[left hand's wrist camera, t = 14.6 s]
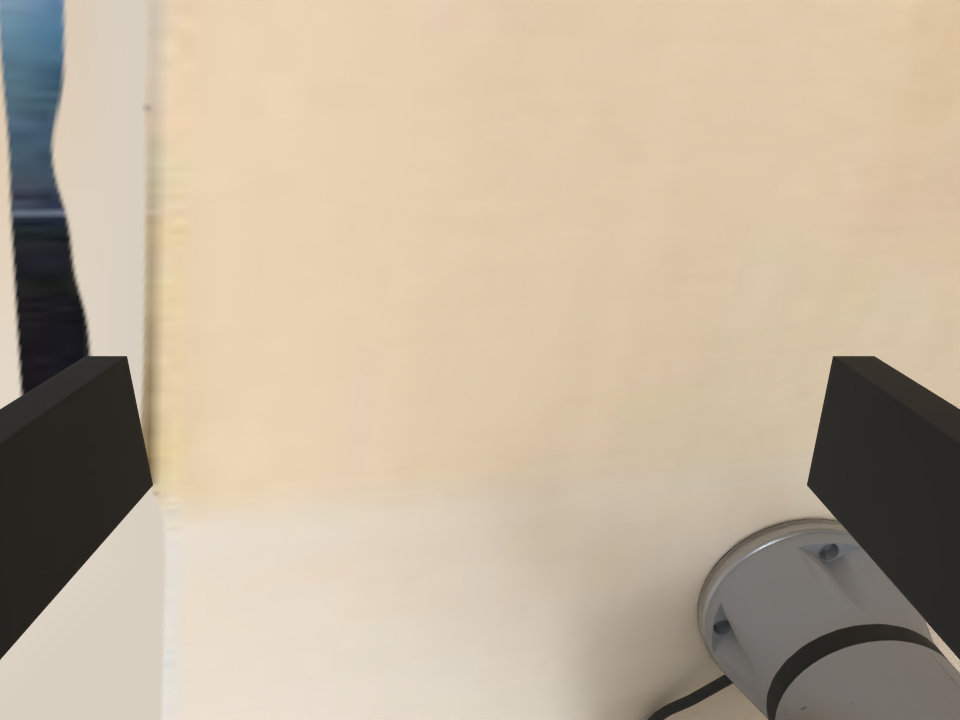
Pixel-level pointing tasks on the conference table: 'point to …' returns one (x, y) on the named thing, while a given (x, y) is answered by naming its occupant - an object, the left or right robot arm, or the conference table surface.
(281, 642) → the conference table surface
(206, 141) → the conference table surface
